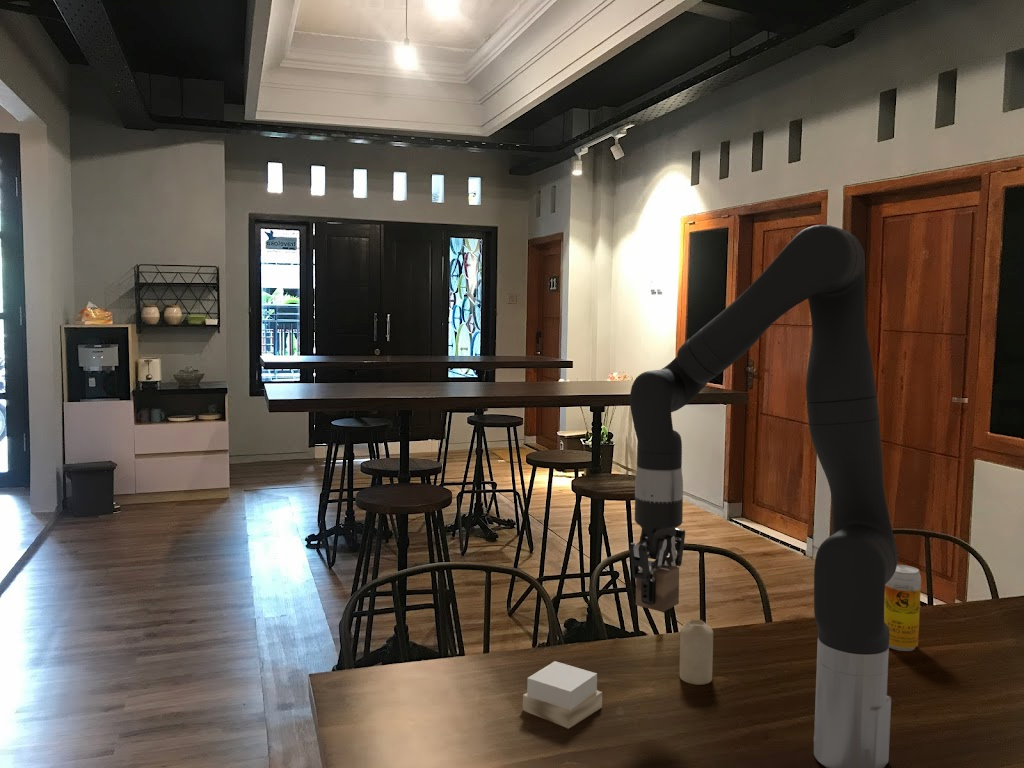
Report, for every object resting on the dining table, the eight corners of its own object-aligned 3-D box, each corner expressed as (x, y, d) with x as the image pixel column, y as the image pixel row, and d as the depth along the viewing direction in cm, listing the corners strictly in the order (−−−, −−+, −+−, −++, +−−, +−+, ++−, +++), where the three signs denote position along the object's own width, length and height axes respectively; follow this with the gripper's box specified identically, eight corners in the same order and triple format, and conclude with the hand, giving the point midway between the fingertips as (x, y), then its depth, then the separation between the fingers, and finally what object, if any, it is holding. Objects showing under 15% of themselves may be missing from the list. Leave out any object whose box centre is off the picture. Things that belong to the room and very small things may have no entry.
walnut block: (678, 603, 134) (679, 567, 134) (663, 612, 130) (663, 574, 130) (651, 597, 137) (652, 561, 137) (635, 605, 134) (636, 568, 133)
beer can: (884, 650, 156) (888, 572, 155) (880, 638, 162) (883, 562, 161) (920, 654, 154) (924, 575, 153) (914, 641, 160) (918, 565, 159)
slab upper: (596, 691, 133) (597, 673, 133) (570, 710, 127) (570, 691, 126) (554, 678, 138) (554, 661, 137) (527, 696, 131) (527, 678, 131)
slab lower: (601, 710, 133) (602, 692, 133) (568, 731, 126) (568, 712, 126) (556, 693, 139) (557, 676, 139) (522, 712, 132) (522, 694, 132)
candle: (712, 686, 141) (714, 629, 140) (679, 683, 142) (680, 626, 141) (711, 672, 146) (712, 617, 145) (679, 670, 147) (680, 615, 146)
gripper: (656, 506, 125) (655, 616, 126) (701, 490, 135) (699, 592, 137) (614, 499, 129) (613, 605, 131) (660, 484, 140) (659, 583, 142)
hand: (657, 598), depth 134 cm, fingers closed on walnut block, 5 cm apart
